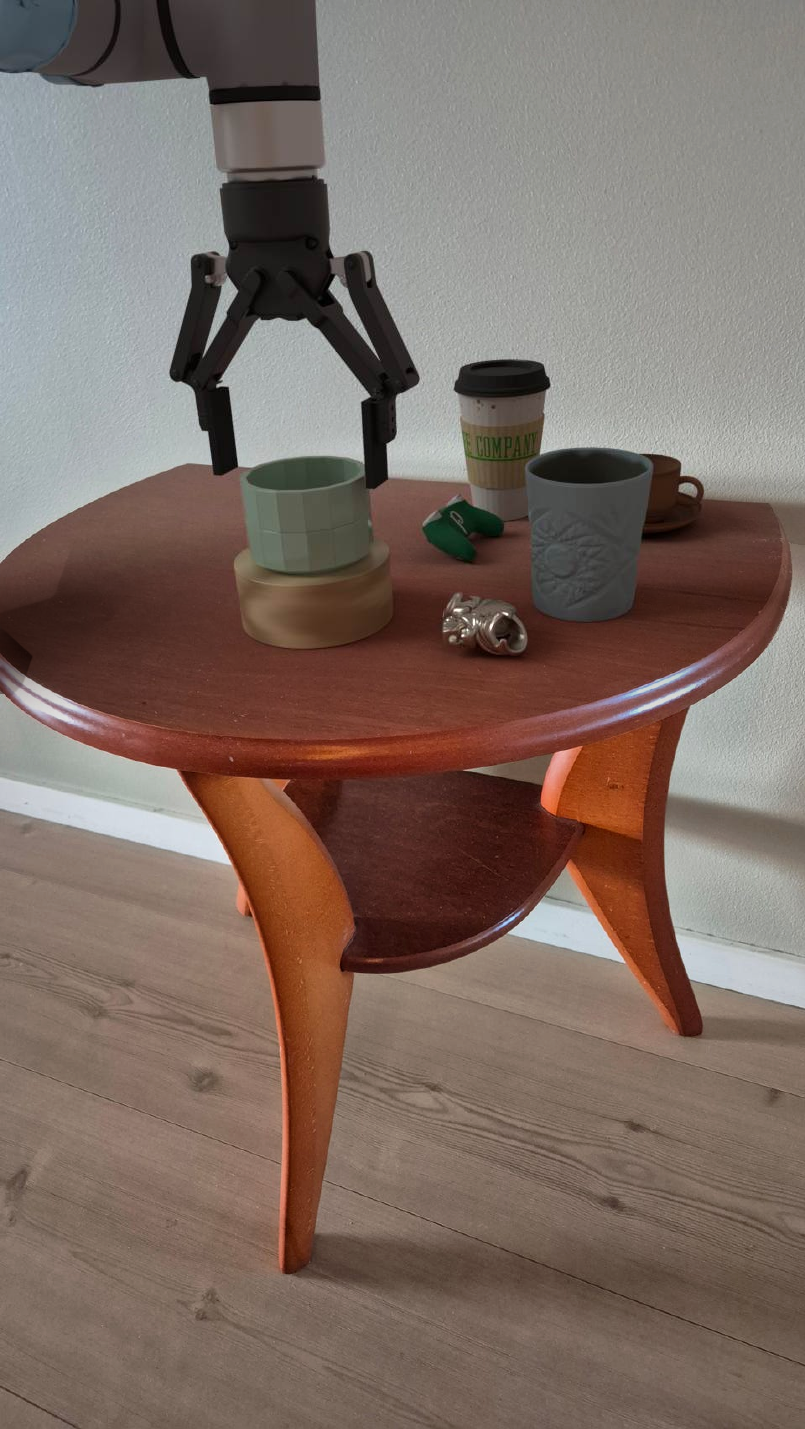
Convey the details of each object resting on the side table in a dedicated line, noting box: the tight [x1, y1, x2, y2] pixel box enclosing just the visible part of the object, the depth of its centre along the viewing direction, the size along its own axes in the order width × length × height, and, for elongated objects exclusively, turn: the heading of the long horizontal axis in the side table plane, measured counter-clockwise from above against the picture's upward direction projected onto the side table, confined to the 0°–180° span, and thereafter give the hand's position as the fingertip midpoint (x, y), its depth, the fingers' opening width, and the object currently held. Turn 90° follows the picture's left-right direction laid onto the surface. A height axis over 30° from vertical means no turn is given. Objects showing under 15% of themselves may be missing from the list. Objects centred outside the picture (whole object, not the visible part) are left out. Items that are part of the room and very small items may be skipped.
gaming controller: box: [421, 492, 505, 563], centre depth 98 cm, size 9×4×6 cm
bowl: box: [238, 455, 374, 574], centre depth 81 cm, size 10×10×7 cm
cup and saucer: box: [639, 453, 705, 534], centre depth 100 cm, size 12×12×6 cm
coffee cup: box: [453, 358, 552, 522], centre depth 103 cm, size 10×10×15 cm
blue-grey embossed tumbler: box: [525, 446, 653, 623], centre depth 82 cm, size 10×10×12 cm
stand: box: [233, 536, 394, 650], centre depth 84 cm, size 13×13×6 cm
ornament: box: [441, 592, 528, 657], centre depth 78 cm, size 8×7×4 cm
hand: (299, 477), depth 79 cm, fingers open, 13 cm apart
